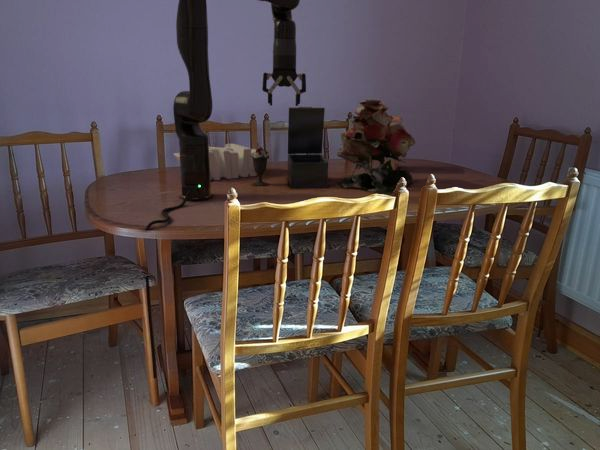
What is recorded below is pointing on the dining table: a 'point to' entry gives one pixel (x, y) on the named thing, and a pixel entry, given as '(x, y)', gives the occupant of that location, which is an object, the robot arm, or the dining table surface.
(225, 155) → the wavy white extrusion
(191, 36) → the robot arm
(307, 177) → the chest
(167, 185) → the dining table surface
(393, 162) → the cracker box
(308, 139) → the lid
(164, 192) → the dining table surface
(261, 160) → the sundae
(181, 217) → the dining table surface
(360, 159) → the rose bouquet
